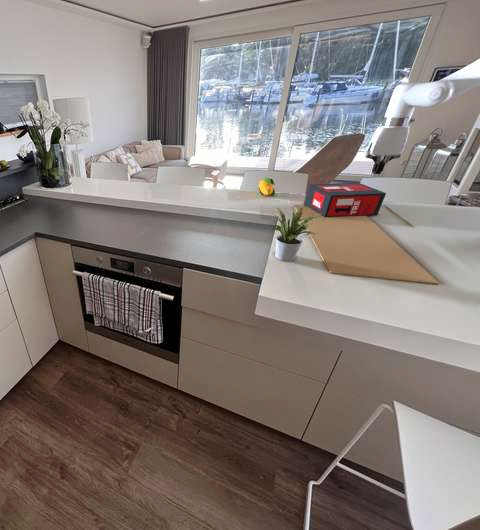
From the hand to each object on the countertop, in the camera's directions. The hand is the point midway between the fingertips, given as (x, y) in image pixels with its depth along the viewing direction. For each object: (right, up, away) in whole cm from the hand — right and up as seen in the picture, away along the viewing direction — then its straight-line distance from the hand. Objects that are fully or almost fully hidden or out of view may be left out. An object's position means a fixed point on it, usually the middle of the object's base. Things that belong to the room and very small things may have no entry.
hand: (376, 173), depth 114 cm
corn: (-28, -1, +31) cm, 42 cm away
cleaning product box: (0, -9, +4) cm, 10 cm away
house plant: (-51, -35, -25) cm, 67 cm away
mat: (-22, -26, -14) cm, 37 cm away
